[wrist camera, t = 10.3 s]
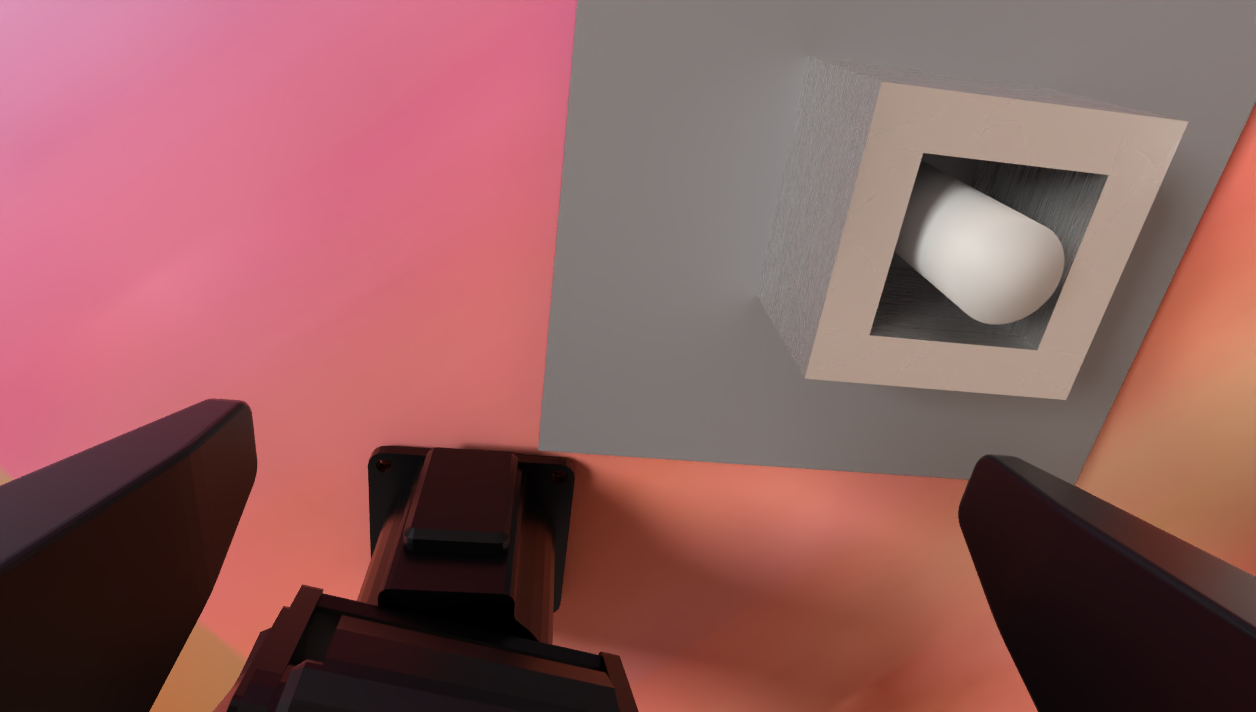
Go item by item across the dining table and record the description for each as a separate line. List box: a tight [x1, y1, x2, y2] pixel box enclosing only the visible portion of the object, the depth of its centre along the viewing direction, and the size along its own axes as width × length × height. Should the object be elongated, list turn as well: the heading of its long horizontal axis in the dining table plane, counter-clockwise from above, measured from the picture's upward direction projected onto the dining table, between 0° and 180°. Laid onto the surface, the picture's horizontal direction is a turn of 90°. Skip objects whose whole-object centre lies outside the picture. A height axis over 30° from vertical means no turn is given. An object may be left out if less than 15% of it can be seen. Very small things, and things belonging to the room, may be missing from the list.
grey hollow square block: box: [757, 56, 1188, 400], centre depth 18 cm, size 6×6×5 cm
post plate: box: [538, 0, 1256, 485], centre depth 18 cm, size 18×18×7 cm
